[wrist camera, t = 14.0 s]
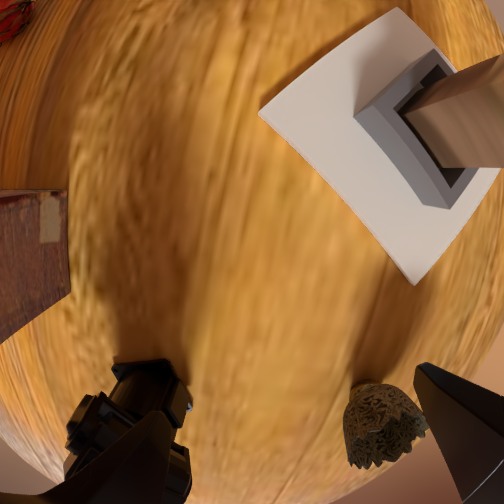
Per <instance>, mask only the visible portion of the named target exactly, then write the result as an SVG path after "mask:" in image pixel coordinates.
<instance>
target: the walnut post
mask: <svg viewBox="0 0 504 504" xmlns="http://www.w3.org/2000/svg"><path fill="white" fill-rule="evenodd" d="M396 113H397V114H398V115H399V116H400V118H401V119H402V120H403V121H404V123H405V124H406V125H407V126H408V128H409V129H410V130H411V131H412V133H413V134H414V135H415V137H416V138H417V139H418V141H419V142H420V143H421V145H422V146H423V147H424V149H425V150H426V152H427V153H428V155H429V156H430V157H431V159H432V160H433V162H434V163H435V165H436V166H437V168H504V53H503V54H500V55H498V56H495V57H493V58H490V59H487V60H485V61H483V62H480V63H478V64H475V65H473V66H471V67H468V68H466V69H464V70H461V71H459V72H457V73H454V74H452V75H450V76H448V77H446V78H443V79H441V80H439V81H437V82H435V83H433V84H431V85H429V86H426V87H424V88H422V89H420V90H418V91H417V92H416V93H415V94H414V95H413V96H412V97H411V98H410V99H409V100H408V101H407V102H406V103H405V104H404V105H403V106H402V107H401V108H400V109H399V110H398V111H397V112H396Z"/></svg>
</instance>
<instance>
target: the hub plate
mask: <svg viewBox="0 0 504 504" xmlns="http://www.w3.org/2000/svg"><path fill="white" fill-rule="evenodd" d="M457 72H458V71H457V70H456V69H455V67H454V66H453V65H452V64H451V62H450V61H449V60H448V59H447V57H446V56H445V55H444V54H443V53H442V51H441V50H440V49H439V48H438V47H437V46H436V45H435V43H434V42H433V41H432V40H431V39H430V38H429V37H428V36H427V35H426V34H425V33H424V32H423V31H422V30H421V29H420V28H419V27H418V26H417V25H416V24H415V23H414V22H413V21H412V20H411V19H410V18H409V17H408V16H407V15H406V14H405V13H404V12H403V11H402V10H401V9H399V8H398V7H395V8H394V9H392V10H390V11H389V12H387V13H385V14H384V15H382V16H381V17H379V18H378V19H376V20H374V21H373V22H371V23H370V24H368V25H367V26H365V27H364V28H362V29H361V30H359V31H358V32H356V33H355V34H354V35H352V36H351V37H349V38H348V39H347V40H345V41H344V42H342V43H341V44H340V45H338V46H337V47H336V48H334V49H333V50H332V51H330V52H329V53H328V54H326V55H325V56H324V57H322V58H321V59H320V60H319V61H317V62H316V63H315V64H313V65H312V66H311V67H310V68H308V69H307V70H306V71H305V72H304V73H302V74H301V75H300V76H299V77H297V78H296V79H295V80H294V81H293V82H292V83H290V84H289V85H288V86H287V87H286V88H285V89H283V90H282V91H281V92H280V93H279V94H278V95H277V96H275V97H274V98H273V99H272V100H271V101H270V102H269V103H268V104H266V105H265V106H264V107H263V108H262V109H261V110H260V111H259V112H258V116H260V117H261V118H262V119H263V120H264V121H265V122H266V123H267V124H268V125H270V126H271V127H272V128H273V129H274V130H275V131H276V132H277V133H278V134H279V135H280V136H281V137H282V138H283V139H285V140H286V141H287V142H288V143H289V144H290V145H291V146H292V147H293V148H294V149H295V150H296V151H297V152H298V153H299V154H300V155H301V156H302V157H303V158H304V159H305V160H306V161H307V162H308V163H309V164H310V165H311V166H312V167H313V168H314V169H315V170H316V171H317V172H318V173H319V174H320V175H321V177H322V178H323V179H324V180H325V181H326V182H327V183H328V184H329V185H330V186H331V187H332V188H333V189H334V191H335V192H336V193H337V194H338V195H339V196H340V197H341V198H342V199H343V201H344V202H345V203H346V204H347V205H348V206H349V207H350V208H351V210H352V211H353V212H354V213H355V214H356V215H357V217H358V218H359V219H360V220H361V221H362V222H363V224H364V225H365V226H366V227H367V228H368V230H369V231H370V232H371V233H372V235H373V236H374V237H375V238H376V240H377V241H378V242H379V243H380V245H381V246H382V247H383V248H384V250H385V251H386V252H387V253H388V255H389V256H390V257H391V259H392V260H393V261H394V263H395V264H396V265H397V267H398V268H399V269H400V271H401V272H402V273H403V275H404V276H405V278H406V279H407V280H408V282H409V283H411V284H412V285H414V286H415V285H416V284H417V283H418V282H419V281H420V280H421V279H422V277H423V276H424V275H425V274H426V273H427V272H428V271H429V269H430V268H431V267H432V266H433V265H434V264H435V262H436V261H437V260H438V259H439V257H440V256H441V255H442V254H443V253H444V251H445V250H446V249H447V248H448V246H449V245H450V244H451V242H452V241H453V240H454V239H455V237H456V236H457V235H458V233H459V232H460V231H461V229H462V228H463V227H464V225H465V224H466V222H467V221H468V220H469V218H470V217H471V215H472V214H473V212H474V211H475V209H476V208H477V206H478V205H479V203H480V202H481V200H482V199H483V197H484V196H485V194H486V193H487V191H488V189H489V188H490V186H491V185H492V183H493V181H494V180H495V178H496V176H497V174H498V173H499V171H500V169H501V168H437V166H436V165H435V163H434V162H433V160H432V159H431V157H430V156H429V155H428V153H427V152H426V150H425V149H424V147H423V146H422V145H421V143H420V142H419V141H418V139H417V138H416V137H415V135H414V134H413V133H412V131H411V130H410V129H409V128H408V126H407V125H406V124H405V123H404V121H403V120H402V119H401V118H400V116H399V115H398V114H397V113H396V112H397V111H398V110H399V109H400V108H401V107H402V106H403V105H404V104H405V103H406V102H407V101H408V100H409V99H410V98H411V97H412V96H413V95H414V94H415V93H416V92H417V91H418V90H420V89H422V88H424V87H426V86H429V85H431V84H433V83H435V82H437V81H439V80H441V79H443V78H446V77H448V76H450V75H452V74H454V73H457Z"/></svg>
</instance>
